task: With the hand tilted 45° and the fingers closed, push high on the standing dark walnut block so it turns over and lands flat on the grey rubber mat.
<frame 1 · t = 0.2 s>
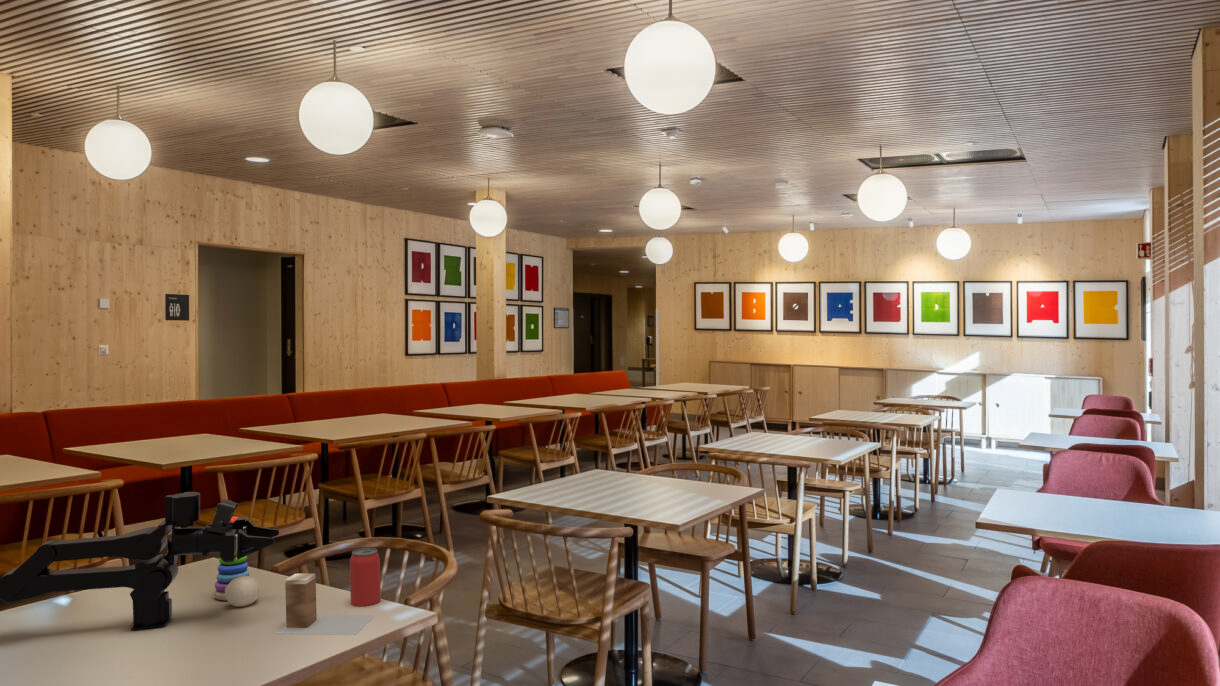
hand: (276, 536, 180), 17 cm above the table, tool horizontal, fingers open, 9 cm apart
rubber mat: (326, 626, 170), on the table
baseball: (242, 606, 184), on the table
stacking toy: (233, 597, 191), on the table
walnut block: (301, 623, 171), resting on rubber mat
beer can: (365, 604, 184), on the table
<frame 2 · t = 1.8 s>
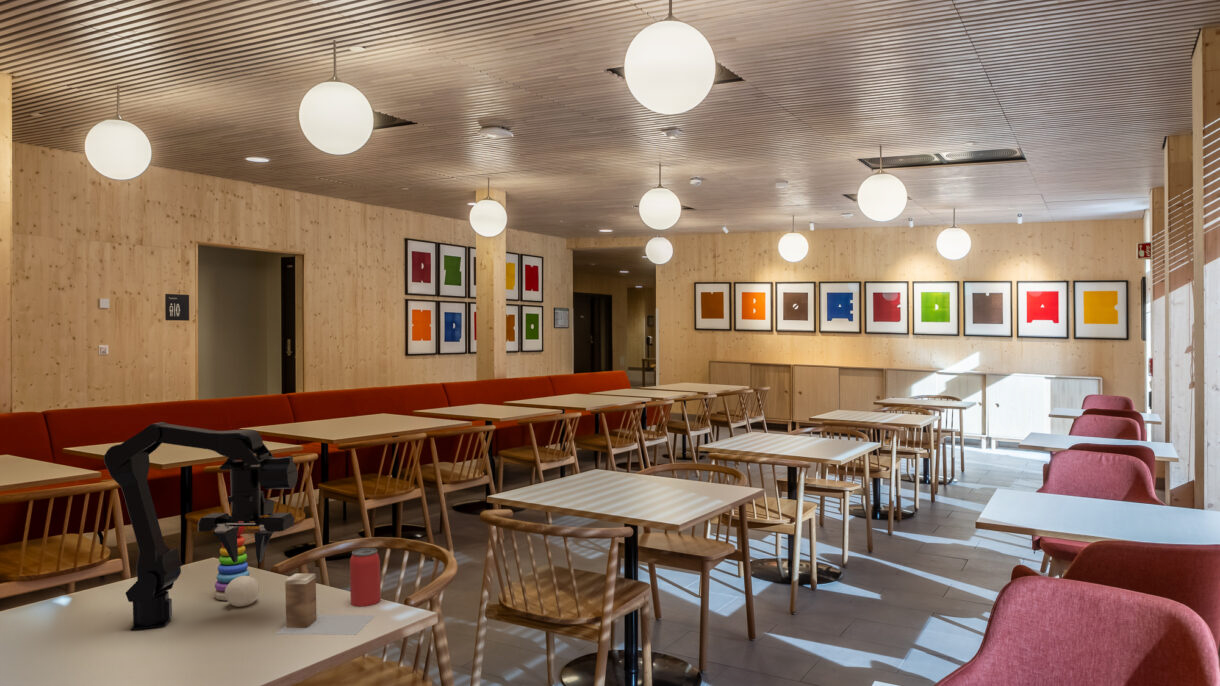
hand: (247, 562, 173), 13 cm above the table, tool pointing down, fingers open, 5 cm apart
nothing on the table moved.
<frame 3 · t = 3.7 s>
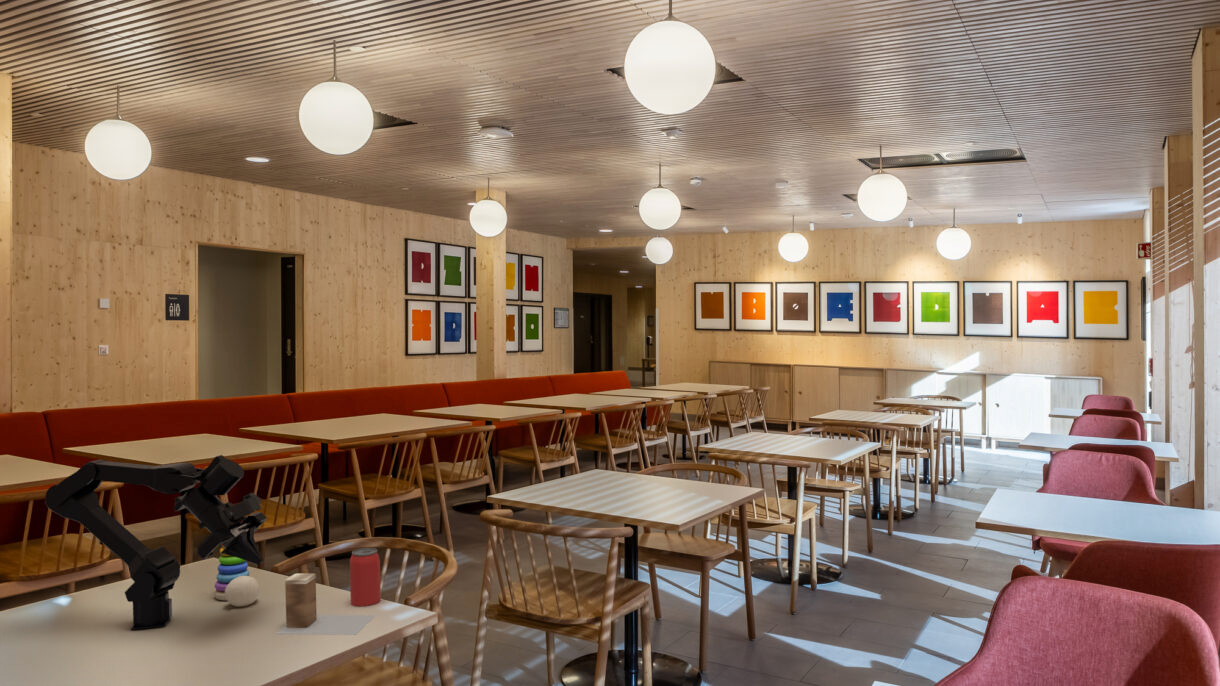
hand: (261, 562, 171), 13 cm above the table, tool tilted 45°, fingers closed
nothing on the table moved.
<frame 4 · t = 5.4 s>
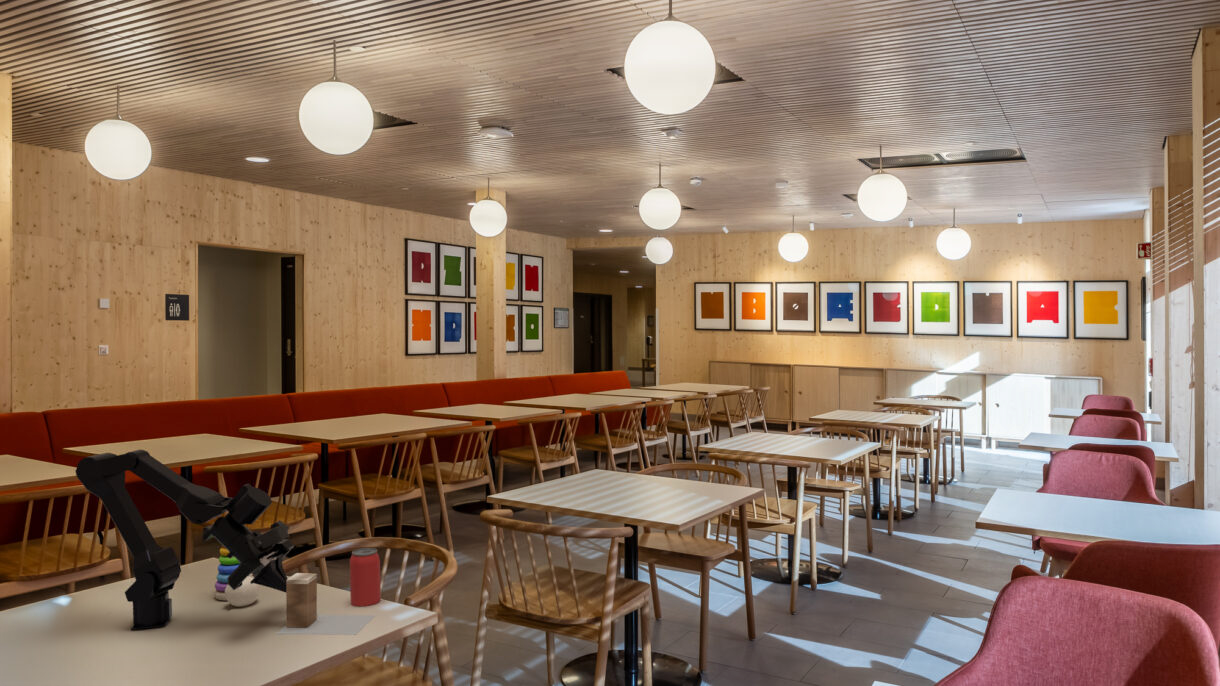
hand: (290, 591, 171), 7 cm above the table, tool tilted 45°, fingers closed, pressing on walnut block
walnut block: (301, 623, 171), resting on rubber mat, touching gripper
everything else where it was.
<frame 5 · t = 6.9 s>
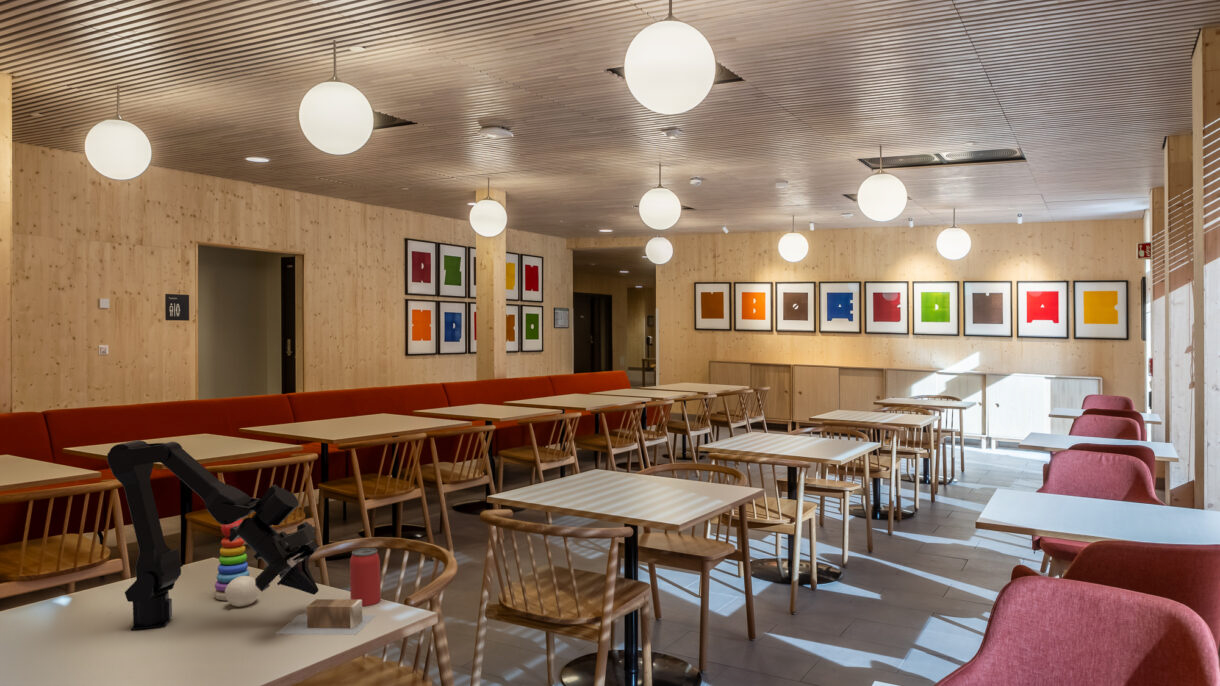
hand: (316, 592, 170), 7 cm above the table, tool tilted 45°, fingers closed
walnut block: (311, 613, 171), point 3 cm above the table, tilted 90°, touching rubber mat
everything else where it was.
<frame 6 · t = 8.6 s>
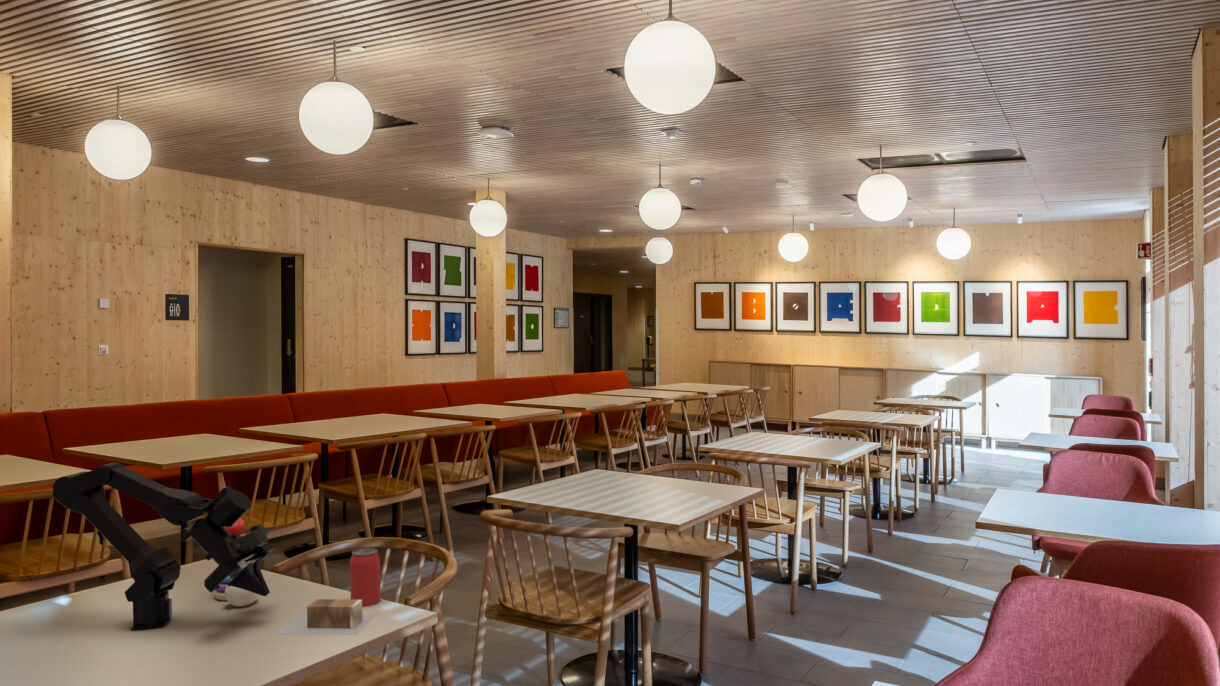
hand: (267, 594, 171), 7 cm above the table, tool tilted 45°, fingers closed
nothing on the table moved.
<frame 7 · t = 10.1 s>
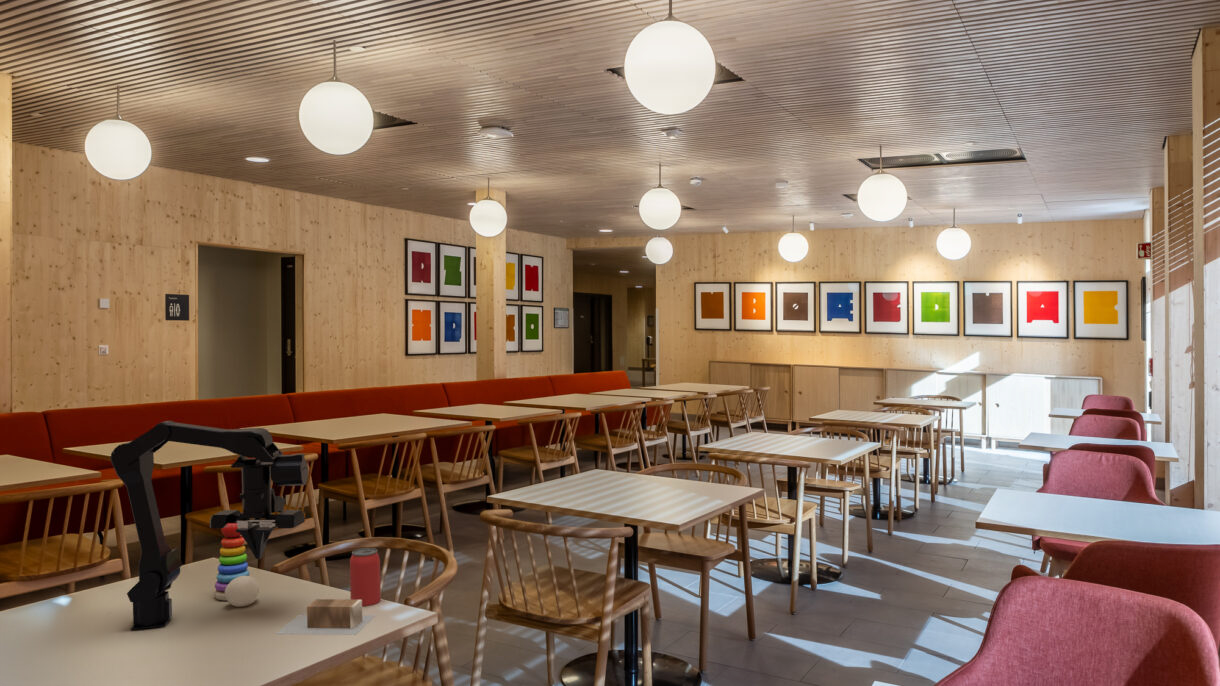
hand: (258, 558, 176), 13 cm above the table, tool pointing down, fingers closed
nothing on the table moved.
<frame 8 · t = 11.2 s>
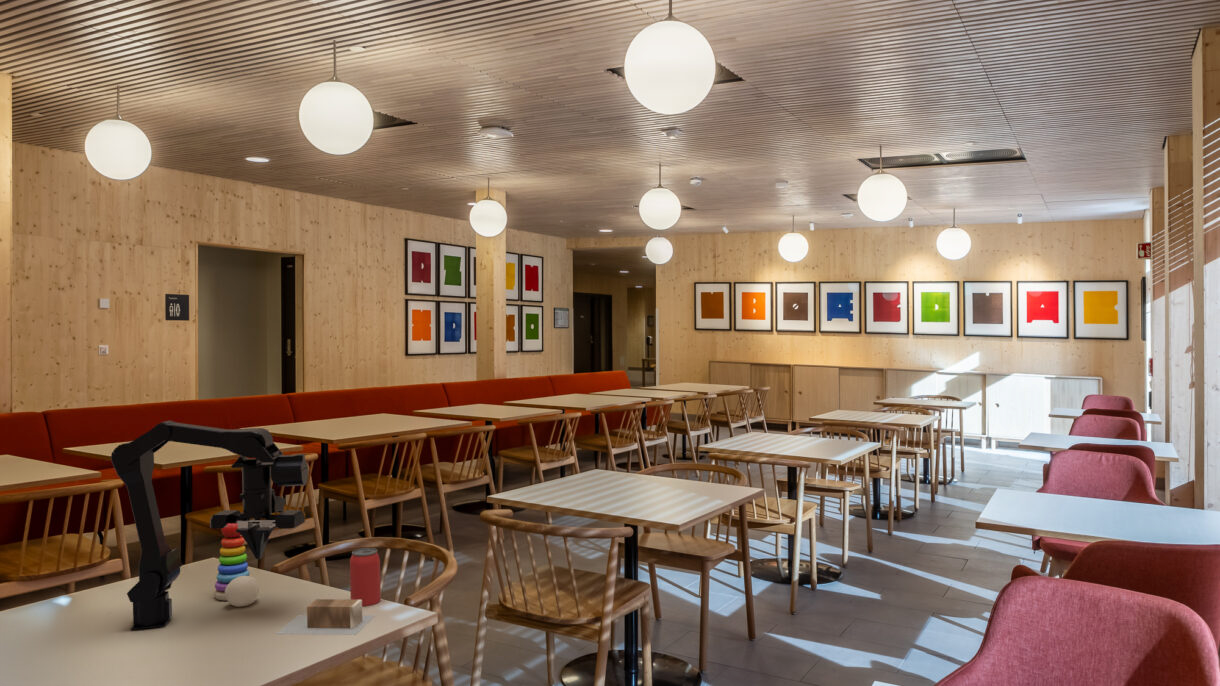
hand: (258, 558, 176), 13 cm above the table, tool pointing down, fingers closed
nothing on the table moved.
at the end: walnut block tilted 90°; walnut block inside the target area on the rubber mat (3.2 cm from its centre), point 2.6 cm above the rubber mat's base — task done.
